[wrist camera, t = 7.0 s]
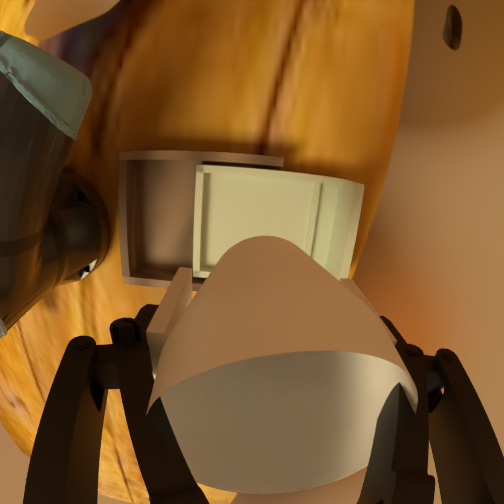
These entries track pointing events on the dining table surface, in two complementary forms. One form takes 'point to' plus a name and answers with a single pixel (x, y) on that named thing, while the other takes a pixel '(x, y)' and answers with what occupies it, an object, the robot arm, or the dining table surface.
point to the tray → (275, 214)
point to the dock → (165, 210)
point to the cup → (276, 373)
